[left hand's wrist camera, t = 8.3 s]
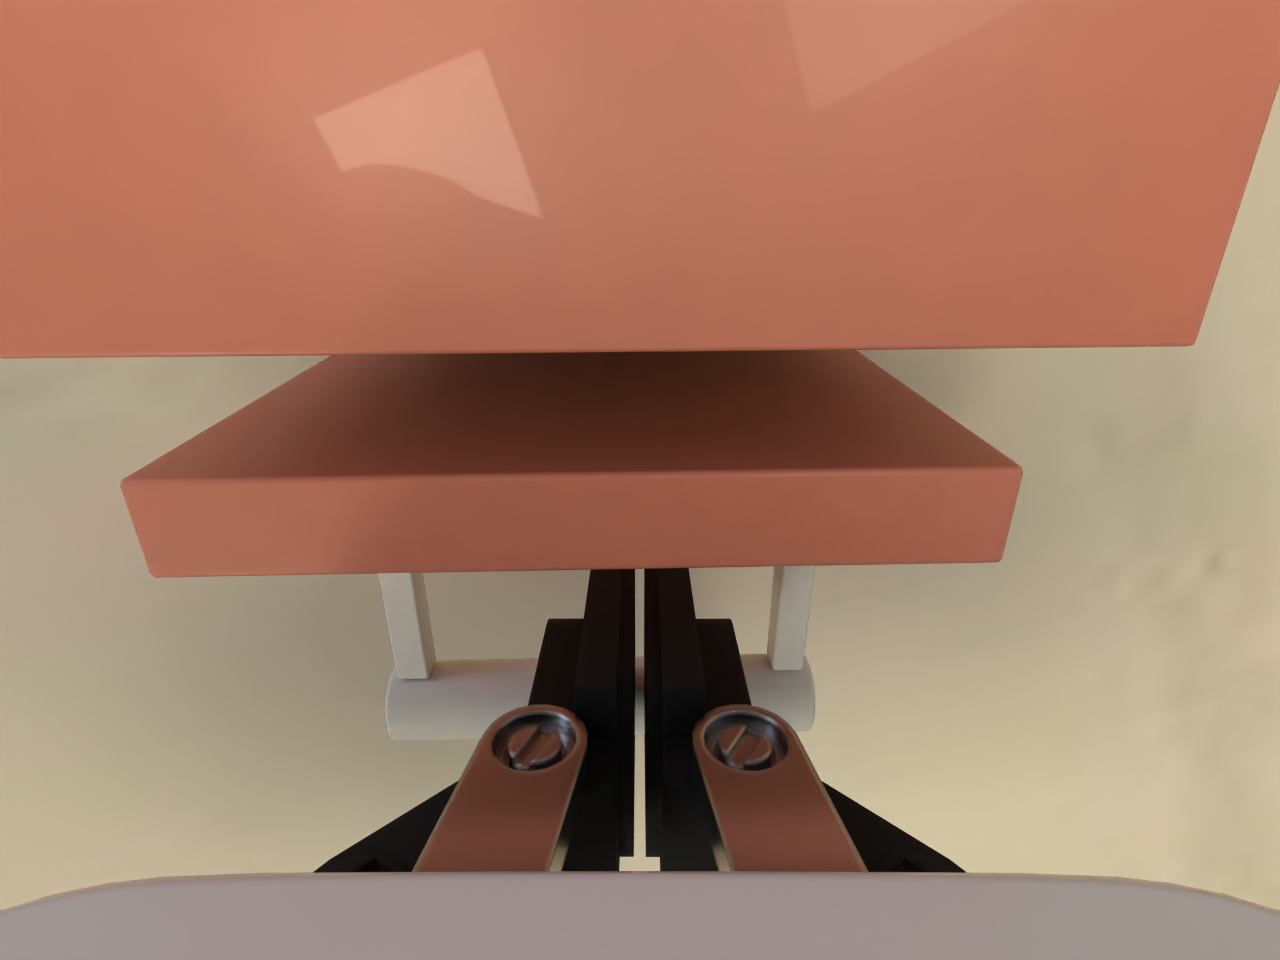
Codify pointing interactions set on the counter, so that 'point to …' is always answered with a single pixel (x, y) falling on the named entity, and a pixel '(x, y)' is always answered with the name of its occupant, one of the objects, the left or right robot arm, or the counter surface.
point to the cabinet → (620, 173)
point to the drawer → (574, 492)
